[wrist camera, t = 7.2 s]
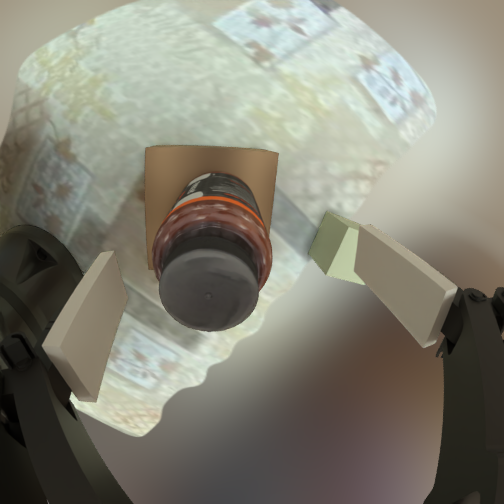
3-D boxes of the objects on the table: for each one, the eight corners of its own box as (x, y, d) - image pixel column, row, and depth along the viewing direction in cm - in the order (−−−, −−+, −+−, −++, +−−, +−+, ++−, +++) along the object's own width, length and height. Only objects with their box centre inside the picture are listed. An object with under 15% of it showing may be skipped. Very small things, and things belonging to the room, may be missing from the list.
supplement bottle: (178, 169, 19) (123, 220, 9) (258, 171, 19) (294, 222, 9) (180, 244, 21) (147, 345, 11) (254, 245, 22) (277, 347, 12)
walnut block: (157, 246, 26) (148, 269, 22) (156, 145, 22) (145, 147, 18) (254, 247, 28) (264, 270, 24) (264, 149, 24) (278, 153, 20)
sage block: (307, 252, 29) (326, 275, 25) (326, 210, 27) (348, 227, 23) (343, 263, 31) (364, 284, 26) (361, 224, 29) (386, 241, 24)
